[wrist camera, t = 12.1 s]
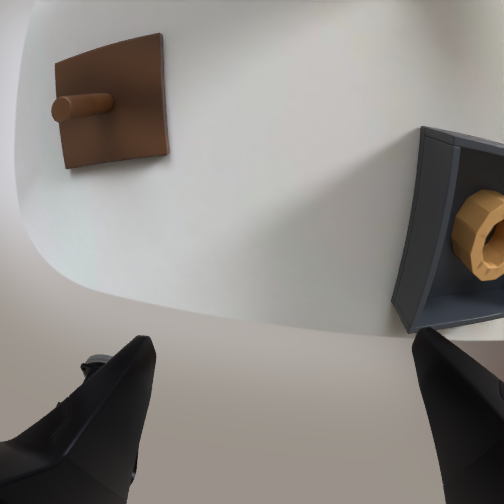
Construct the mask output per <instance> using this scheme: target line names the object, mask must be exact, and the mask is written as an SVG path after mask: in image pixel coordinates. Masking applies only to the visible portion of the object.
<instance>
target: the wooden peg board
mask: <svg viewBox="0 0 504 504" xmlns="http://www.w3.org/2000/svg"><path fill="white" fill-rule="evenodd" d="M55 80H56V97H57V99H56V100H55V102H54V103H53V105H52V110H51V112H52V117H53V119H54V120H55V121H56V122H59V128H60V135H61V143H62V150H63V156H64V162H65V168H66V169H71V168H76V167H82V166H87V165H93V164H99V163H106V162H112V161H119V160H127V159H134V158H142V157H151V156H160V155H167V154H169V153H170V151H169V141H168V129H167V117H166V104H165V89H164V70H163V43H162V34H161V33H156V34H151V35H146V36H142V37H137V38H133V39H129V40H125V41H121V42H118V43H114V44H110V45H107V46H104V47H100V48H97V49H94V50H91V51H88V52H85V53H82V54H79V55H76V56H74V57H71V58H68V59H66V60H63V61H60V62H58V63H56V64H55Z"/></svg>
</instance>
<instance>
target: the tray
mask: <svg viewBox="0 0 504 504" xmlns="http://www.w3.org/2000/svg"><path fill="white" fill-rule="evenodd" d="M481 189H487V190H494V191H497V192H498V193H500V194H502V195H503V196H504V144H501V143H497V142H493V141H490V140H486V139H482V138H478V137H474V136H470V135H465V134H461V133H456V132H452V131H447V130H442V129H436V128H431V127H425V126H421V136H420V148H419V159H418V168H417V176H416V184H415V191H414V198H413V204H412V211H411V216H410V222H409V227H408V233H407V238H406V243H405V247H404V252H403V256H402V261H401V265H400V269H399V273H398V277H397V281H396V285H395V289H394V293H393V296H392V300H391V301H392V303H393V305H394V307H395V309H396V311H397V313H398V315H399V317H400V319H401V321H402V323H403V325H404V327H405V329H406V331H407V333H408V334H411V333H417V332H418V330H419V329H420V328H423V327H431V328H433V329H434V330H439V329H446V328H452V327H458V326H463V325H469V324H474V323H479V322H484V321H489V320H494V319H499V318H503V317H504V274H503V275H501V276H500V277H498V278H497V279H495V280H487V281H481V280H480V279H479V278H478V277H476V276H475V275H474V274H473V273H472V272H471V271H470V270H469V269H468V267H467V266H466V265H465V264H464V263H463V262H462V261H461V260H460V259H459V258H458V257H457V256H456V255H455V254H454V250H453V245H452V240H451V233H452V229H453V224H454V220H455V216H456V214H457V213H458V211H459V210H460V208H461V207H462V205H463V204H464V202H465V201H466V199H467V198H468V197H470V196H471V195H473V194H475V193H476V192H478V191H480V190H481ZM496 225H497V224H495V225H494V226H493V228H492V229H491V231H490V232H489V234H488V235H487V237H486V239H485V243H484V245H486V244H487V243H488V242H489V240H490V239H491V237H492V236H493V234H494V232H495V229H496Z"/></svg>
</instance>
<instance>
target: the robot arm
mask: <svg viewBox="0 0 504 504" xmlns="http://www.w3.org/2000/svg"><path fill="white" fill-rule="evenodd" d="M412 353H413V357H414V362H415V367H416V372H417V377H418V382H419V387H420V391H421V394H422V397H423V401H424V404H425V408H426V411H427V415H428V419H429V423H430V427H431V431H432V434H433V439H434V443H435V447H436V451H437V456H438V461H439V466H440V471H441V476H442V481H443V484H444V485H443V487H444V494H445V501H446V504H504V382H503V381H501V380H500V379H498V378H497V377H496V376H495V375H494V374H492V373H491V372H490V371H489V370H487V369H486V368H485V367H483V366H482V365H481V364H479V363H478V362H477V361H476V360H474V359H473V358H472V357H470V356H469V355H468V354H466V353H465V352H464V351H462V350H461V349H460V348H458V347H457V346H456V345H454V344H453V343H452V342H450V341H449V340H448V339H446V338H445V337H444V336H442V335H441V334H440V333H438V332H437V331H435V330H434V329H433V328H431V327H423V328H420V329H419V330H418V332H417V335H416V337H415V339H414V342H413V345H412ZM155 363H156V352H155V349H154V346H153V343H152V341H151V338H150V337H149V336H144V335H143V336H142V335H138V336H136V337H135V338H134V339H133V340H132V341H130V343H128V344H127V345H126V346H125V347H124V348H123V349H121V350H120V351H119V352H118V353H117V354H116V355H115V356H113V357H112V358H111V359H110V360H109V361H108V362H107V363H105V364H104V365H103V366H96V365H90V364H84V363H83V364H81V369H82V371H83V373H84V374H85V376H86V378H85V380H84V382H83V384H82V385H81V386H79V387H78V388H77V389H76V390H75V391H74V392H73V393H72V394H71V395H70V396H69V397H67V398H66V399H65V400H64V401H62V402H61V403H60V402H58V404H57V406H56V408H55V409H53V410H52V411H51V412H50V413H48V414H47V415H46V416H44V417H43V418H42V419H40V420H39V421H38V422H36V423H35V424H34V425H32V426H31V427H29V428H28V429H27V430H25V431H24V432H22V433H21V434H20V435H18V436H17V437H15V438H13V439H11V440H8V441H4V442H0V504H126V503H127V497H128V492H129V487H130V485H131V484H132V482H133V480H134V477H135V474H136V469H137V459H138V448H139V442H140V438H141V434H142V430H143V425H144V421H145V418H146V413H147V410H148V406H149V401H150V397H151V391H152V383H153V377H154V370H155Z"/></svg>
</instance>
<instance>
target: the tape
mask: <svg viewBox="0 0 504 504" xmlns="http://www.w3.org/2000/svg"><path fill="white" fill-rule="evenodd" d="M495 224H497V225H496V229H495V232H494V234H493V236H492V237H491V239H490V240H489V242H488V243H487V244H486V245H484V243H485V239H486V237H487V235H488V234H489V232H490V231H491V229H492V228H493V226H494V225H495ZM451 240H452V245H453V250H454V254H455V255H456V256H457V257H458V258H459V259H460V260H461V261H462V262H463V263H464V264H465V265H466V266H467V267H468V269H469V270H470V271H471V272H472V273H473V274H474V275H475V276H476V277H478V278H479V279H480V280H481V281H487V280H495V279H497V278H498V277H500V276H501V275H503V274H504V196H503V195H502V194H500V193H498V192H497V191H494V190H487V189H481V190H480V191H478V192H476V193H475V194H473V195H471V196H470V197H468V198H467V199H466V201H465V202H464V204H463V205H462V207H461V208H460V210H459V211H458V213H457V214H456V216H455V220H454V224H453V229H452V233H451Z"/></svg>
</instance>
